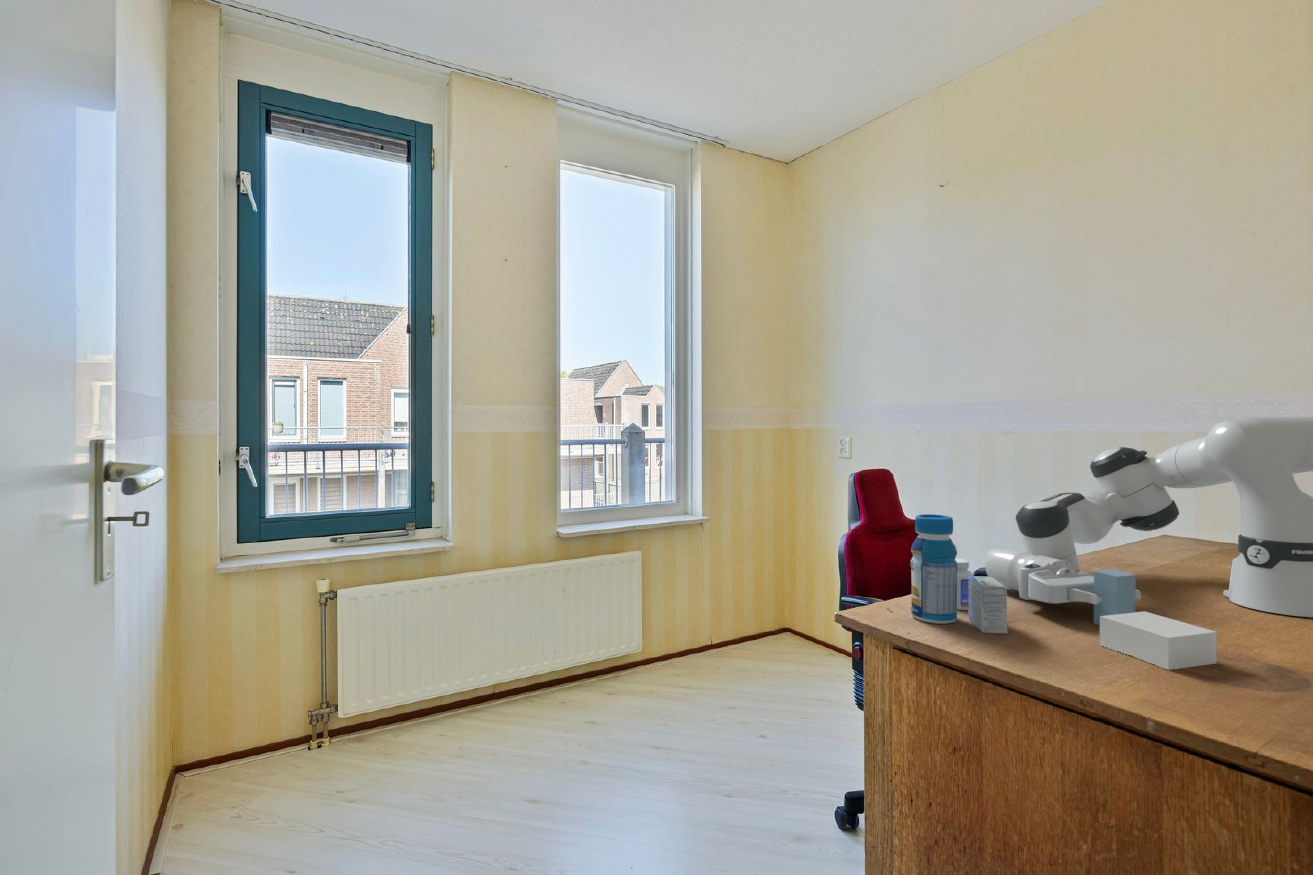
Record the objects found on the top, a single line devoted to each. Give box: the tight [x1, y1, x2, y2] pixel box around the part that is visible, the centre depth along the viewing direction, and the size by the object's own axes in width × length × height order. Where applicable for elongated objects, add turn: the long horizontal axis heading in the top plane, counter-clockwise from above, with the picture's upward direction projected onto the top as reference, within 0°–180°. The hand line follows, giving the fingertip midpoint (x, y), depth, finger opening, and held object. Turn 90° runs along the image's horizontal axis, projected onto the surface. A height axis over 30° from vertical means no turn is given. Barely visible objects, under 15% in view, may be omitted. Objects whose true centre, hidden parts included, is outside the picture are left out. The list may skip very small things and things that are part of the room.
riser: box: [1099, 611, 1218, 671], centre depth 99 cm, size 10×11×5 cm
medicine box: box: [968, 575, 1008, 635], centre depth 113 cm, size 8×4×9 cm, turn 168°
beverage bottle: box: [910, 513, 958, 625], centre depth 118 cm, size 8×8×20 cm
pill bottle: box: [955, 557, 974, 611], centre depth 126 cm, size 5×5×10 cm
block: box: [1093, 569, 1137, 626], centre depth 113 cm, size 4×4×10 cm
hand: (1119, 597), depth 112 cm, fingers open, 8 cm apart
